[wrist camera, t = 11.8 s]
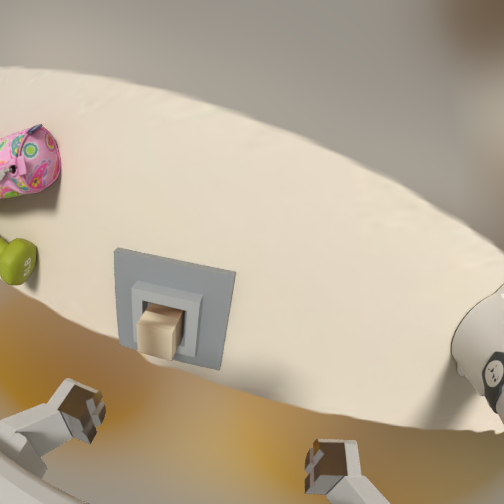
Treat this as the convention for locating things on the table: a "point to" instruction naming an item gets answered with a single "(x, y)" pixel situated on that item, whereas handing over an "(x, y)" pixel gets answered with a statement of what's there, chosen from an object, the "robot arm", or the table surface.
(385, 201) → the table surface
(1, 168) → the pencil case
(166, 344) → the stack block
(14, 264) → the dumbbell
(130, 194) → the table surface
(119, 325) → the socket board
